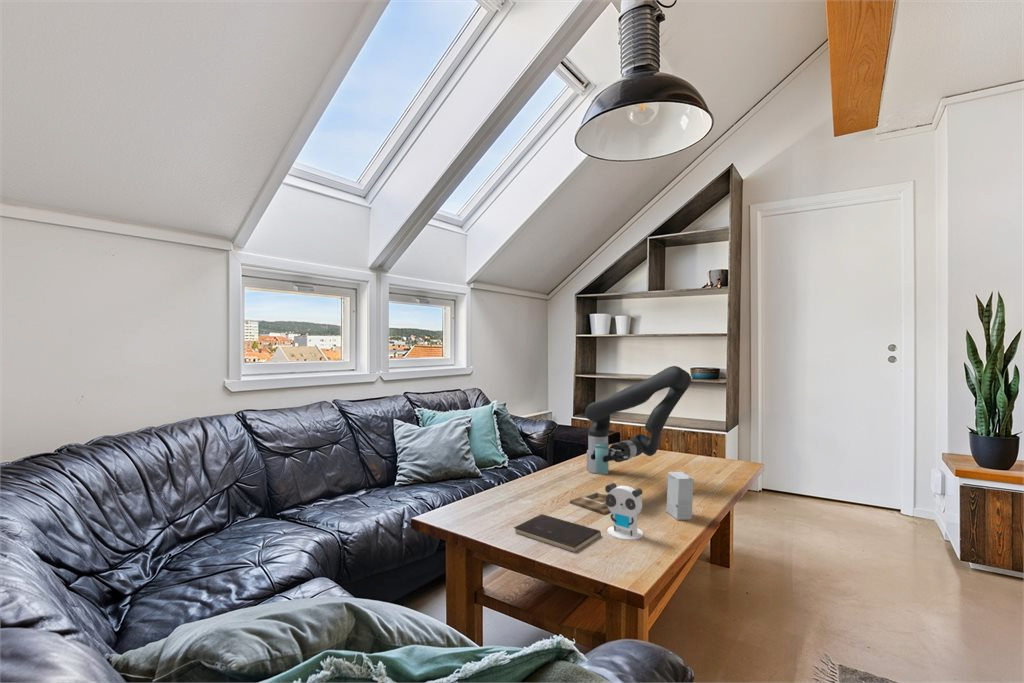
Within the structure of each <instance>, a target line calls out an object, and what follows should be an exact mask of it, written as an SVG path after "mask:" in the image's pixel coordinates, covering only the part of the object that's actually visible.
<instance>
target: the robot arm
mask: <svg viewBox="0 0 1024 683" xmlns="http://www.w3.org/2000/svg"><path fill="white" fill-rule="evenodd" d="M691 376H692V375H691V374H690V373H689V372H688V371H687V370H685V369H683V368H681V367H680V366H677V365H672V366H669V367H666V368H664V369H663V370H661V371H659V372H658V373H655V374H654V375H653V376H651V377H647V378H645V379H643V380H641V381H639V382H637V383H635V384H632V385H630V386H628V387H626V388H624V389H622V390H619V391H617V392H616V393H614V394H612V395H610V396H609V397H607V398H604V399H601V400H597V401H593V402H591V403H589V404H588V405H587V406H586V408H585V410H584V415H585V418H586V419H587V420H588V421H590V422H592V423H591V426H590V427H589V428H588V433H587V435H588V441H587V442H588V446H587V448H588V449H587V450H586V471H588V472H589V473H592V474H596V473H595V443H599V442H603V443H608V444H609V430H610V428H611V427H610V426H611V425H610V424H611V415H612V414H614V413H618V412H621V411H626V410H630V409H632V408H635V407H637V406H641V405H643V404H645V403H646V402H648V401H649V400H650V399H651V397H652V396H653V395H655V394H656V393H657V392H659V391H661V390H664V389H668V388H669V389H668V392H667V394H666V395H665V396H664V397H663V399H662V400H661V401H660V402H659V403H658V404H657V405H655V407H654V408H653V409H652V411H651V412H650V414H649V415H648V417H647V420H646V422H645V423H644V424H645V425H644V428H645V429H646V431H647V432H648V433H649V434H650V437H649V436H647V435H645V434H643V433H637V434H636V435H635V436H634V437H633V438H631V439H628V440H621V441H619V442H614V443H612V444H611V445H609V446H610V447H608V455H606V456H603V462H608V463H609V462H615V463H621V462H624V461H628V460H630V459H632V458H635V457H638V456H640V455H642V454H644V455H646V456H648V457H652V456H654V455H655V454H656V453H657V451H658V448H659V443H660V437H661V433H662V431H663V429H664V428H665V427H664V426H665V425H666V423H667V421H668V418H669V416H670V415H671V413H672V412H673V410H674V409H675V407H676V405H677V404H678V402H679V401H680V400H681V399H682V397H683V396H684V394H685V393H686V391H687V390H688V389H689V387H690V385H691V382H692V377H691Z"/></svg>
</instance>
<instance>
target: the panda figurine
mask: <svg viewBox="0 0 1024 683" xmlns="http://www.w3.org/2000/svg"><path fill="white" fill-rule="evenodd" d="M604 490H605V492H606V494H608V495H607V497H606V504H607V506H608V508H609V510H610V511H611V512H610V513H611V514H610V520H611V521H613V525H611V526H609V527H608V528H607V531H606V532H607V534H608V535H609V536H611V537H613V538H615V539H619V540H623V541H633V540H639V539H641V538H642V537H644V532H643V531H642V530H641V529H640V528H638V515H639V513H641V512H642V510H643V500H642V497H641V496H642V495H643V490H642V488H639V487H638V488H637V489H635V488H634V487H631V486H627V485H618V486H617V484H616V483H615V482H611V483H609V484H607V485H605V488H604Z"/></svg>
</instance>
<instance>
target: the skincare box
mask: <svg viewBox="0 0 1024 683" xmlns="http://www.w3.org/2000/svg"><path fill="white" fill-rule="evenodd" d="M666 489H667V491H666V513H668V514H669V515H670V516H671V517H673V518H674V519H675V520H677V521H685V520H692V519H693V503H694V502H693V501H694V499H693V498H694V478H693V477H691V476H689V475H688V474H686V473H684V472H683V471H668V472H667V488H666Z"/></svg>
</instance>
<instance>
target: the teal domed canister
mask: <svg viewBox="0 0 1024 683" xmlns="http://www.w3.org/2000/svg"><path fill="white" fill-rule="evenodd" d="M609 446H610V444H609V442H608V443H603V442H599V443H595V473H594V474H597V475H608V474H609V468H610V467H609V461H608V462H603V456H606V455H608V448H610V447H609Z"/></svg>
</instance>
